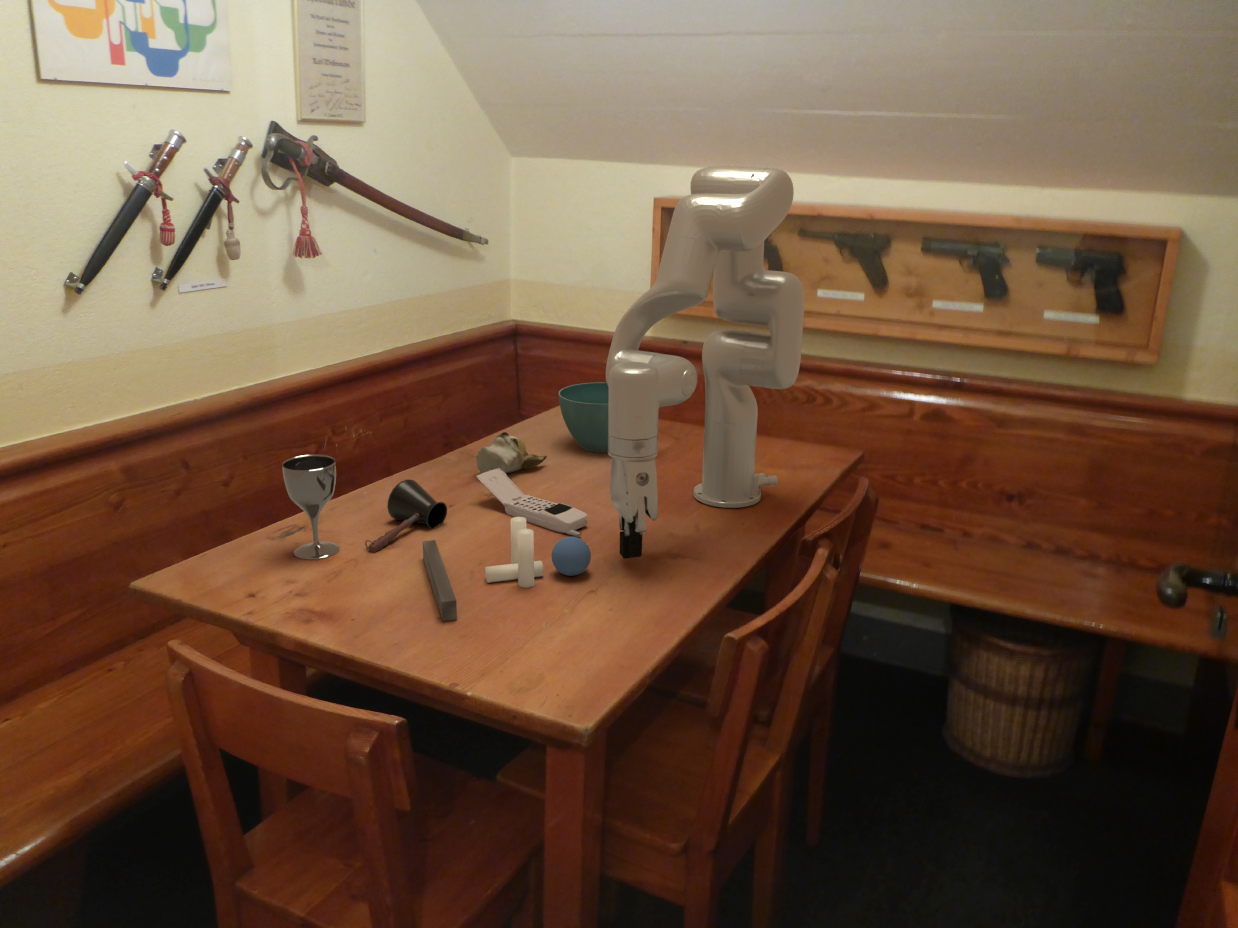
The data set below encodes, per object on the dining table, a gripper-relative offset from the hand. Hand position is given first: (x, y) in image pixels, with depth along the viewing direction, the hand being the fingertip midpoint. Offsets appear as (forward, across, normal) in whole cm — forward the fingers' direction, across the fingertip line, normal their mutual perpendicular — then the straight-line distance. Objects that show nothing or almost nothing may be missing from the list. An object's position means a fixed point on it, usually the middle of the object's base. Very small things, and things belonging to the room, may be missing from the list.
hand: (630, 555), depth 154 cm
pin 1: (+2, +2, +17) cm, 18 cm away
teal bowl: (+2, +60, -13) cm, 61 cm away
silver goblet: (+2, +19, +47) cm, 51 cm away
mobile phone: (+2, +24, +10) cm, 26 cm away
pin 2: (+2, -2, +17) cm, 18 cm away
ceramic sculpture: (+2, +49, +10) cm, 50 cm away
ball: (-2, -1, +10) cm, 10 cm away
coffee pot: (+2, +24, +34) cm, 41 cm away
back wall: (+2, 0, +30) cm, 30 cm away
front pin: (0, 0, +14) cm, 14 cm away
